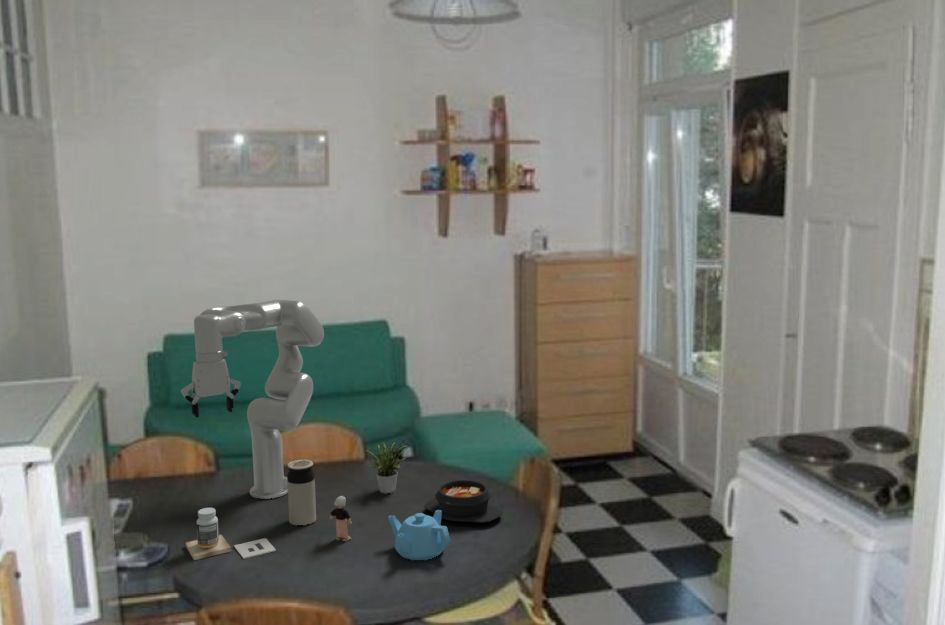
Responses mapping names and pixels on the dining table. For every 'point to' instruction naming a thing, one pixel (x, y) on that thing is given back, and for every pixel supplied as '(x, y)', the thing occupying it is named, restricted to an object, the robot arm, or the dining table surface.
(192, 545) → the coaster
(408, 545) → the teapot
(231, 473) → the dining table surface
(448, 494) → the casserole
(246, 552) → the tile
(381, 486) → the house plant
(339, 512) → the grandmother figurine
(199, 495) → the dining table surface
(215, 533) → the pill bottle
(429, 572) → the dining table surface
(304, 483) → the travel mug
